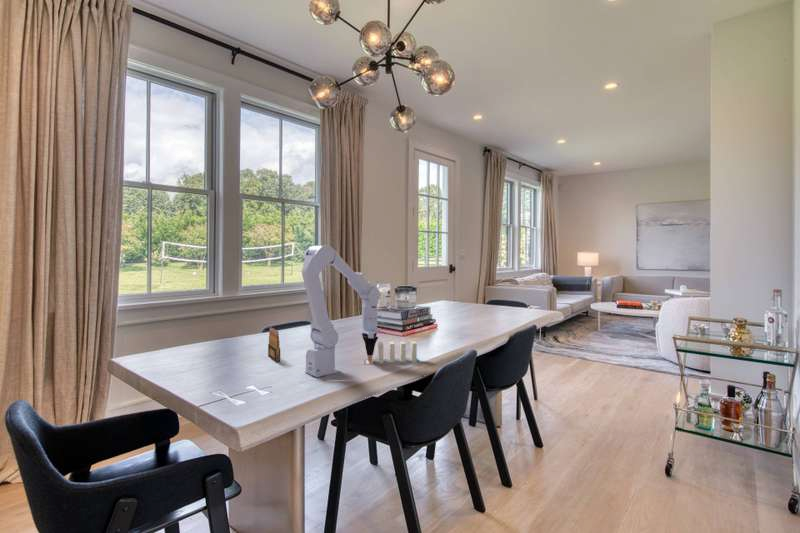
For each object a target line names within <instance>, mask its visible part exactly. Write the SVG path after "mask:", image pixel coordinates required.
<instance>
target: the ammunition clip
mask: <svg viewBox="0 0 800 533" xmlns="http://www.w3.org/2000/svg"><path fill="white" fill-rule="evenodd" d="M268 333H269V334H268V344H267V347H268V349H267V356H268V358H269V357H270V359H271V360H272V361H273V362H274V361H275V363H280V362H281V348H280V336H279V331H278V330H277V329H276V328H273V327H272V326H270V327H269V332H268Z"/></svg>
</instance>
